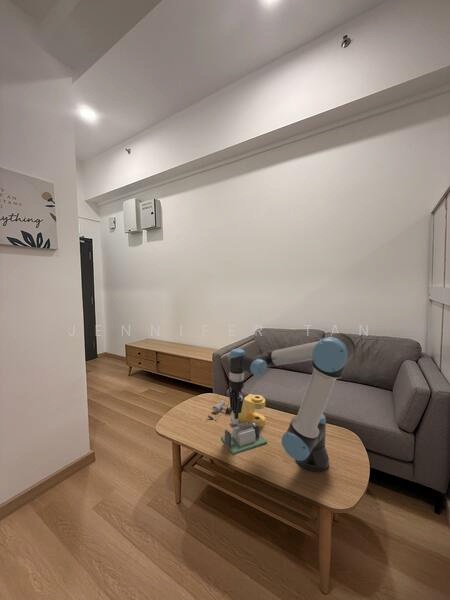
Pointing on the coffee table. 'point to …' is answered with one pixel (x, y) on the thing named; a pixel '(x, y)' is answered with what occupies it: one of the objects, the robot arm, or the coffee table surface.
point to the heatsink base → (239, 449)
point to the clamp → (252, 410)
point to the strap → (243, 425)
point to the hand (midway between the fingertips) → (235, 423)
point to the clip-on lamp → (218, 406)
